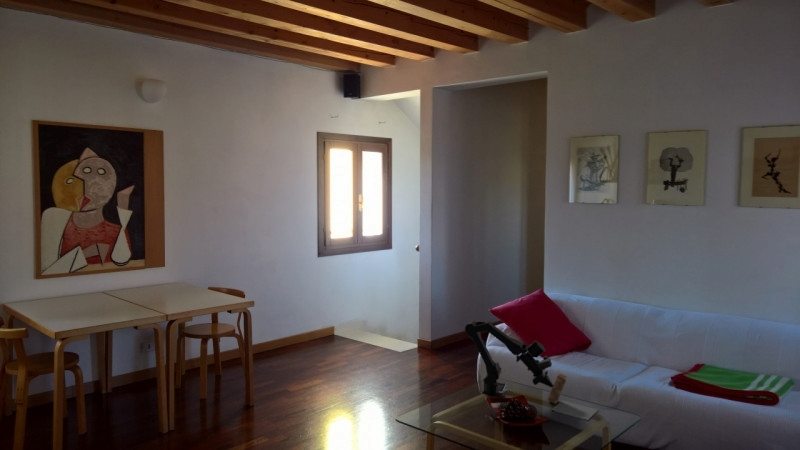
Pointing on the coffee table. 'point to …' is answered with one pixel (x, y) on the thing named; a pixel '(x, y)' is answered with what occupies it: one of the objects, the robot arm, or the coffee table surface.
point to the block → (557, 388)
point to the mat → (575, 410)
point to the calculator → (494, 409)
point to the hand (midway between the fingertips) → (552, 386)
